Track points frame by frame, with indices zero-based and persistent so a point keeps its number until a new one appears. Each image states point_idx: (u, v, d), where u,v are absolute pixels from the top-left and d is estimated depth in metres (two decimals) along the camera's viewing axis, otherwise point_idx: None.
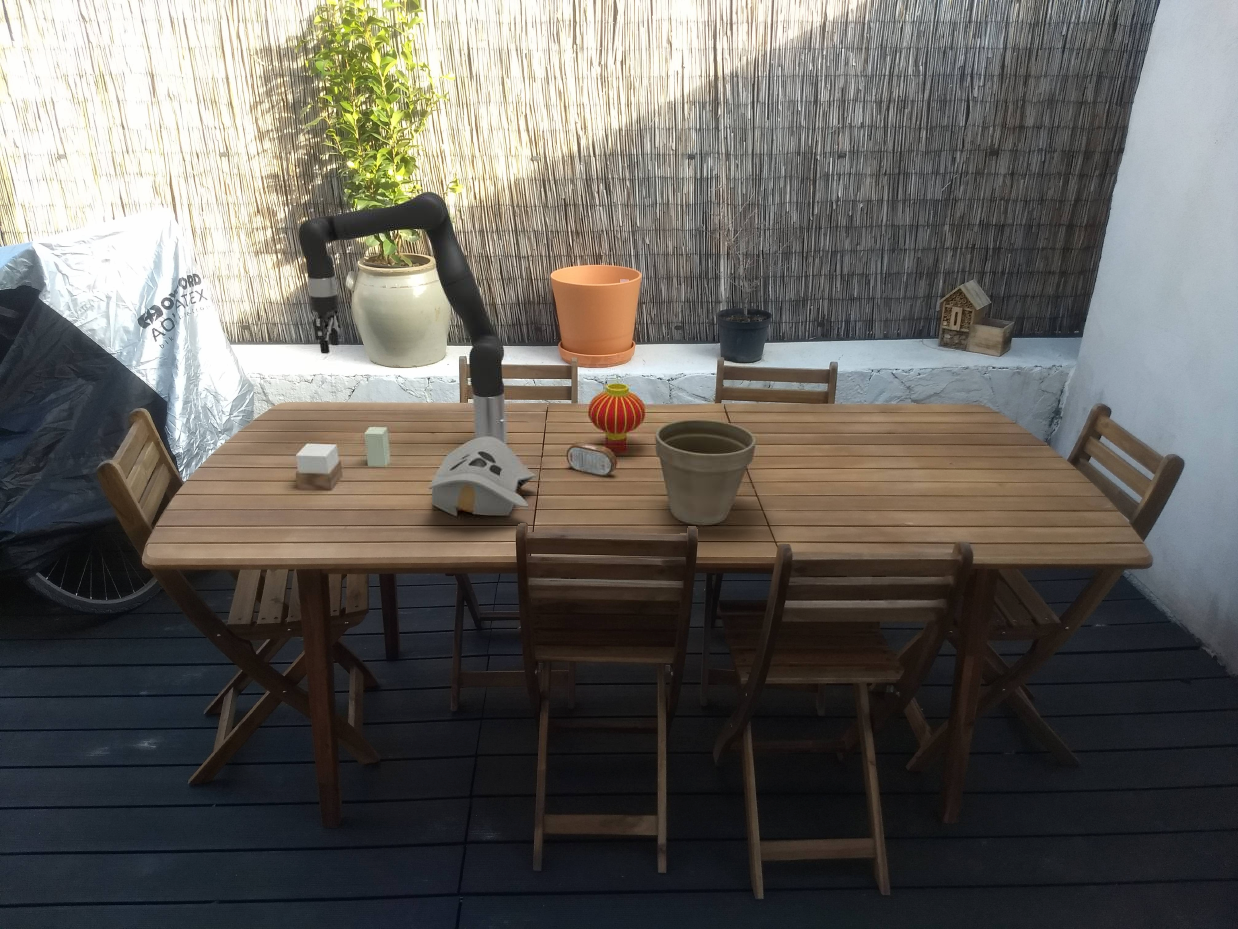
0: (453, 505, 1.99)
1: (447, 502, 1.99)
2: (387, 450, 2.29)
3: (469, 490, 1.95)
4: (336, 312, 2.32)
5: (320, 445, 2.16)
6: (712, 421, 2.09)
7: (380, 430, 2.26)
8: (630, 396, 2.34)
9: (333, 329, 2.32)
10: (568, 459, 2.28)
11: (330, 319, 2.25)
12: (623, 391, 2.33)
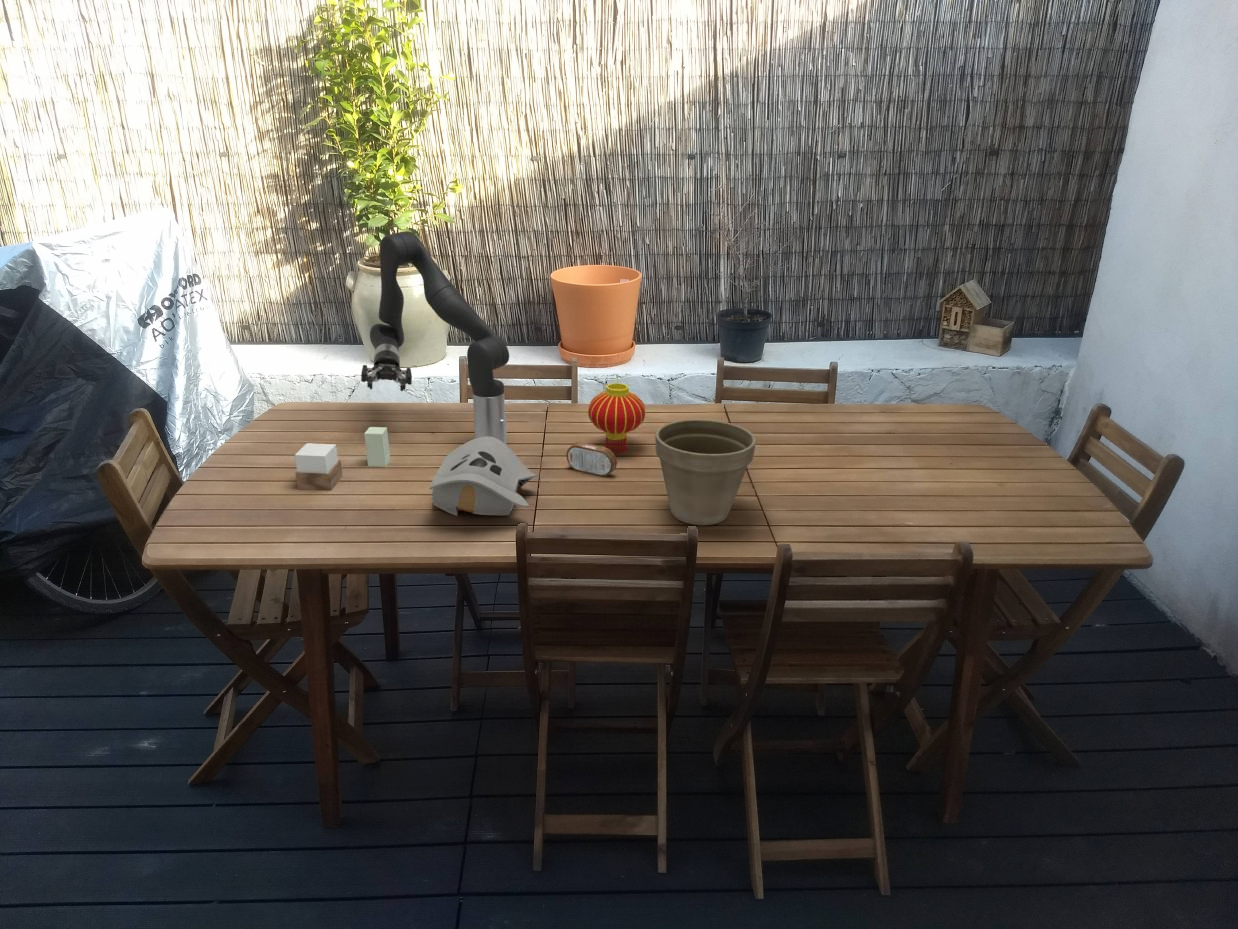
0: (453, 505, 1.99)
1: (447, 502, 1.99)
2: (387, 450, 2.29)
3: (469, 490, 1.95)
4: (406, 370, 2.39)
5: (319, 445, 2.16)
6: (712, 421, 2.09)
7: (380, 430, 2.26)
8: (630, 396, 2.34)
9: None
10: (568, 459, 2.28)
11: None
12: (623, 391, 2.33)
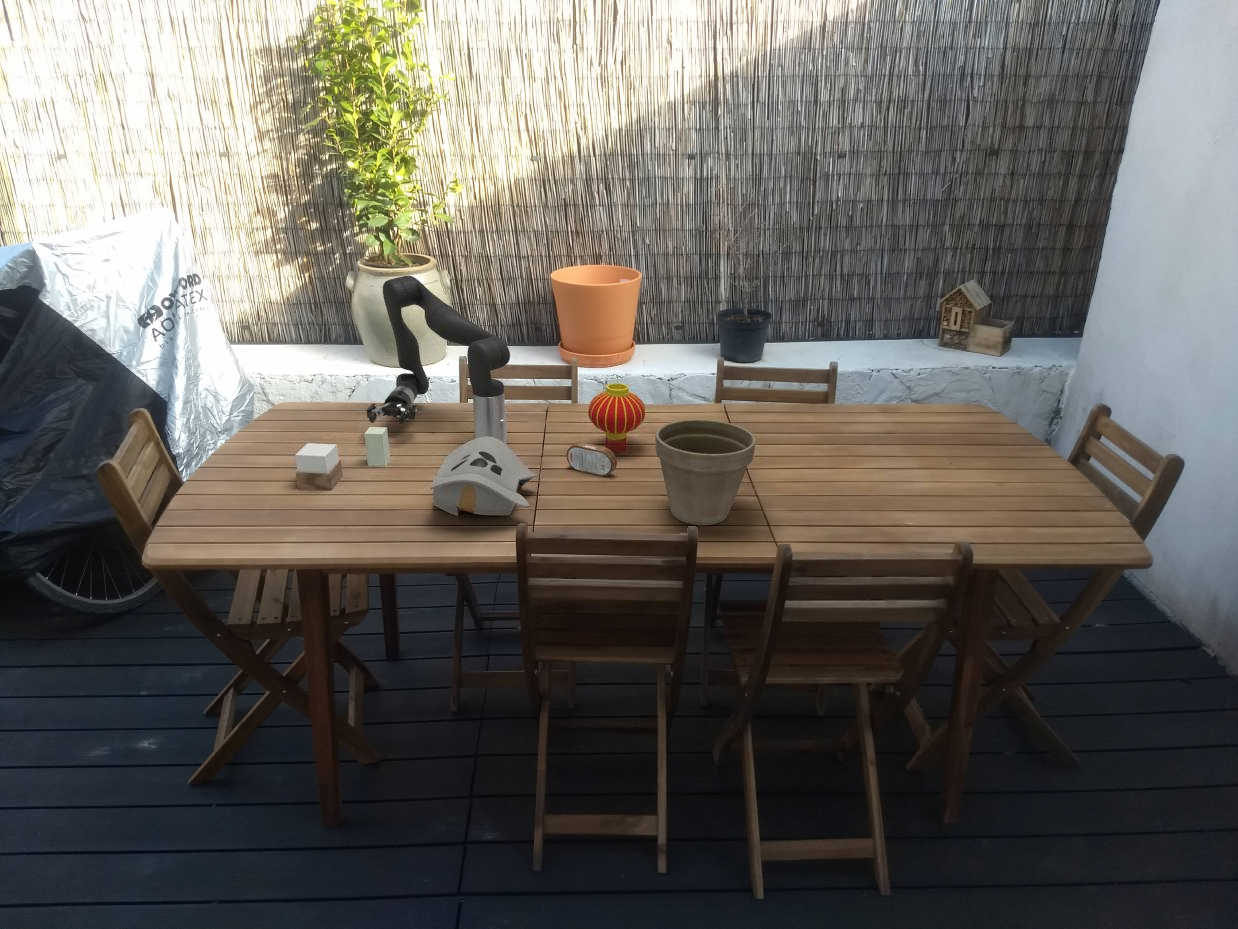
0: (454, 505, 1.99)
1: (448, 502, 1.99)
2: (387, 450, 2.29)
3: (470, 490, 1.95)
4: None
5: (320, 445, 2.16)
6: (712, 421, 2.09)
7: (380, 430, 2.26)
8: (630, 396, 2.34)
9: None
10: (568, 459, 2.28)
11: None
12: (623, 391, 2.33)
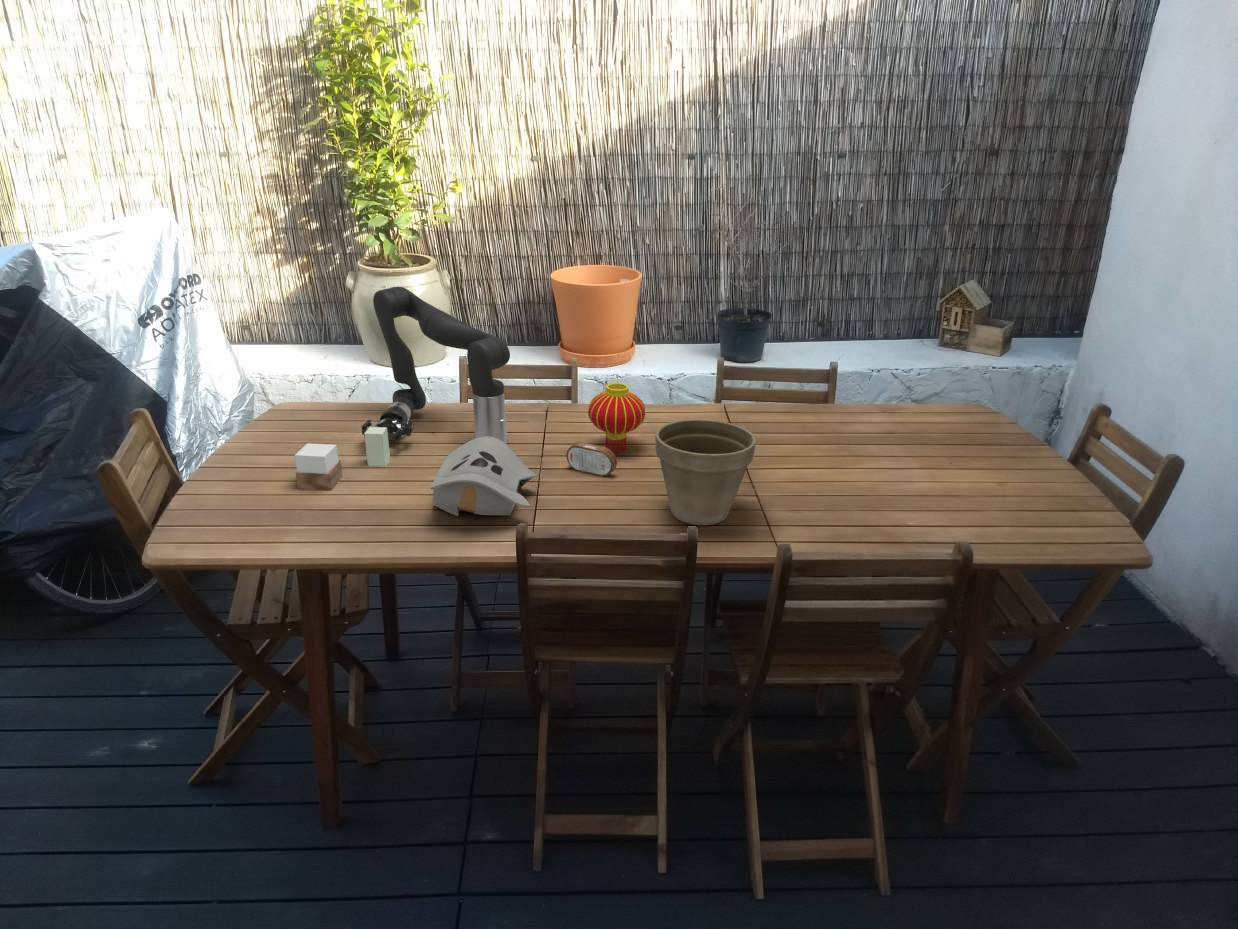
0: (455, 505, 1.99)
1: (448, 502, 1.99)
2: (387, 450, 2.29)
3: (470, 491, 1.95)
4: None
5: (320, 445, 2.16)
6: (712, 421, 2.09)
7: (380, 430, 2.26)
8: (630, 396, 2.34)
9: None
10: (568, 459, 2.28)
11: None
12: (623, 391, 2.33)
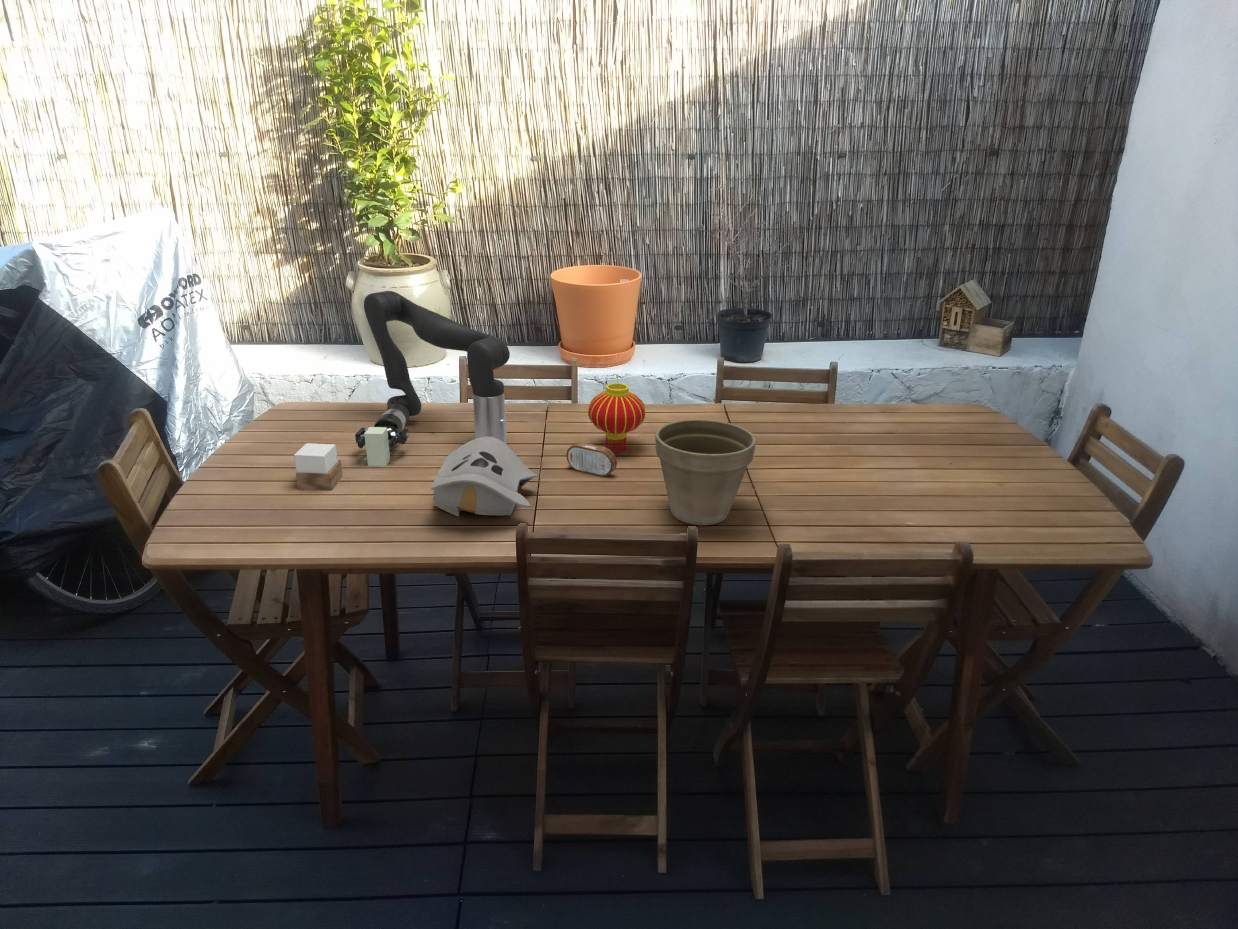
0: (455, 505, 1.99)
1: (449, 502, 1.99)
2: (387, 450, 2.29)
3: (471, 491, 1.95)
4: None
5: (319, 445, 2.16)
6: (712, 421, 2.09)
7: (380, 430, 2.26)
8: (630, 396, 2.34)
9: None
10: (568, 459, 2.28)
11: None
12: (623, 391, 2.33)
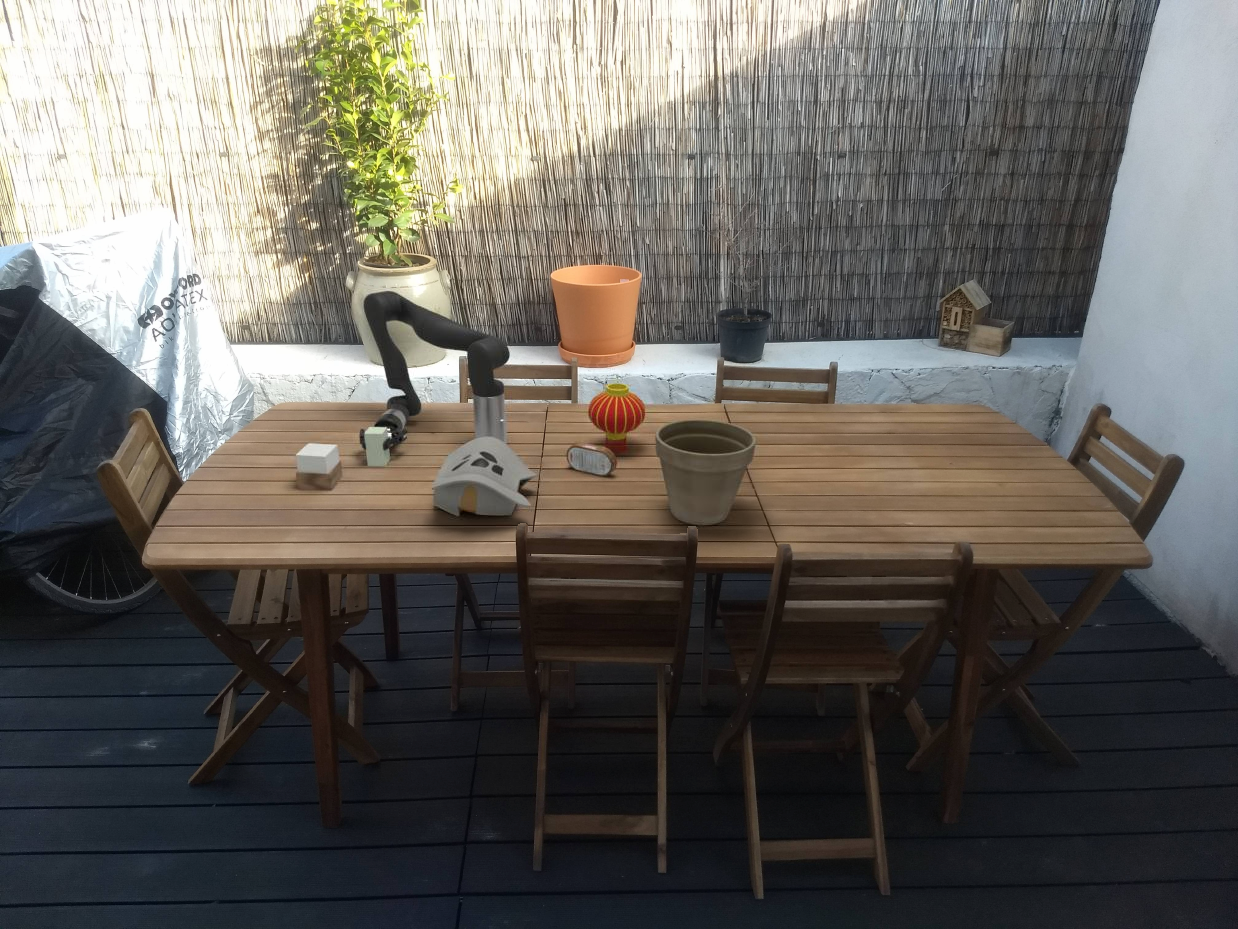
0: (455, 505, 1.99)
1: (449, 502, 1.99)
2: (387, 450, 2.29)
3: (471, 491, 1.95)
4: None
5: (321, 445, 2.16)
6: (712, 421, 2.09)
7: (380, 430, 2.26)
8: (630, 396, 2.34)
9: None
10: (568, 459, 2.28)
11: None
12: (623, 391, 2.33)
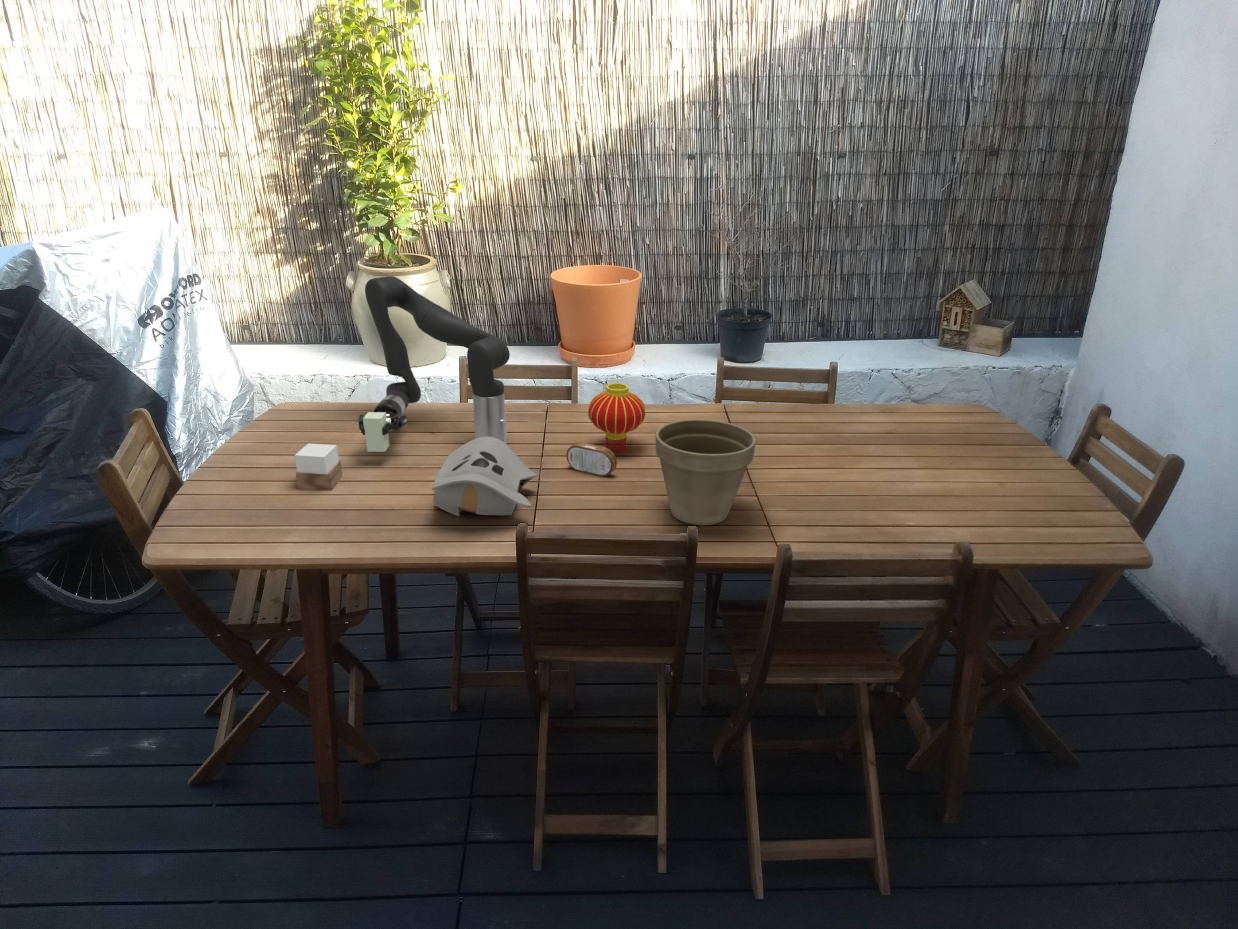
0: (456, 506, 1.99)
1: (449, 502, 1.99)
2: (386, 435, 2.27)
3: (471, 491, 1.95)
4: None
5: (320, 446, 2.16)
6: (712, 421, 2.09)
7: (379, 415, 2.24)
8: (630, 396, 2.34)
9: None
10: (568, 459, 2.28)
11: None
12: (623, 391, 2.33)
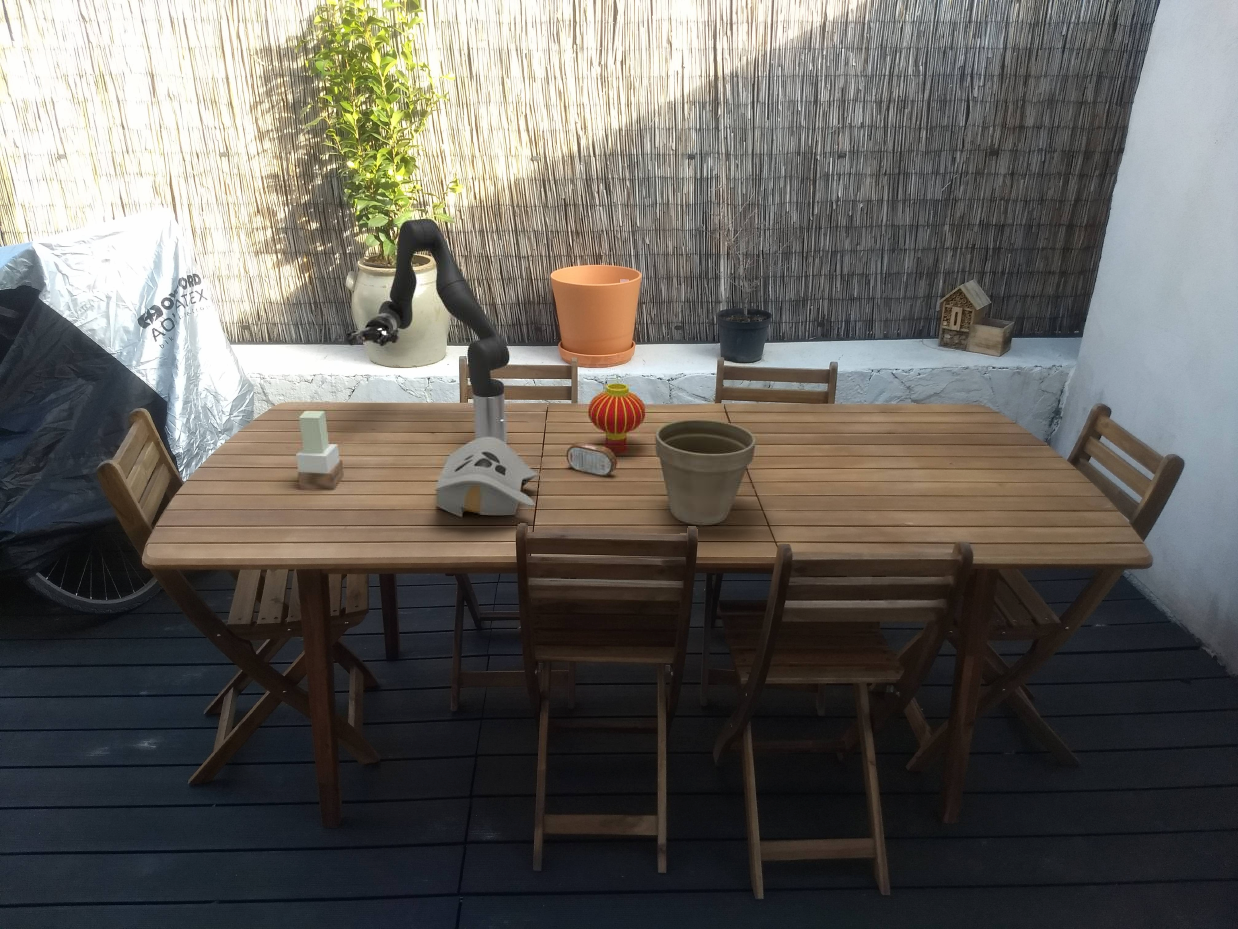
0: (459, 506, 1.99)
1: (453, 503, 1.99)
2: (325, 436, 2.13)
3: (475, 491, 1.95)
4: None
5: None
6: (712, 421, 2.09)
7: (317, 414, 2.09)
8: (630, 396, 2.34)
9: None
10: (568, 459, 2.28)
11: None
12: (623, 391, 2.33)
